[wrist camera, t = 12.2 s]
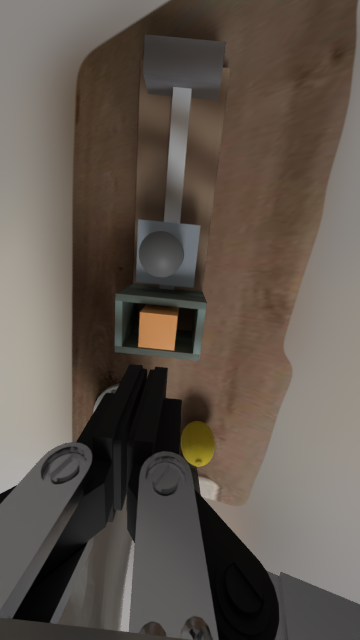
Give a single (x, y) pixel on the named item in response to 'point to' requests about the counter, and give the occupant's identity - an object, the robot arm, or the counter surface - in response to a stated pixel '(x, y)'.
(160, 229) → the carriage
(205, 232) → the rail base
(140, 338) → the orange block
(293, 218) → the counter surface
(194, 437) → the lemon
